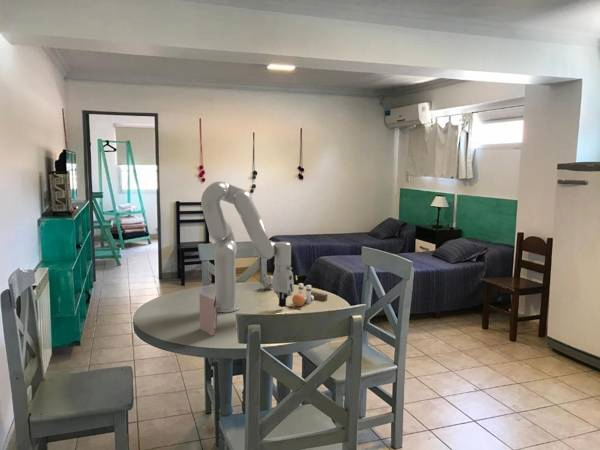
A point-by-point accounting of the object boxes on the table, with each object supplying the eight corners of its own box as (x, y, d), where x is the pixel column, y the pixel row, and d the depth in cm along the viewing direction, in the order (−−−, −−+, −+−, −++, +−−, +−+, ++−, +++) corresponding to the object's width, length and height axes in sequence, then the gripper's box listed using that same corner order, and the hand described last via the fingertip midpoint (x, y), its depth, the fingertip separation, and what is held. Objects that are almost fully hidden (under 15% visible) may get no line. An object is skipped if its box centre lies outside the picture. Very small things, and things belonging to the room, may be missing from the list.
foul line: (300, 310, 227) (300, 309, 227) (278, 304, 236) (278, 304, 236) (301, 309, 227) (301, 309, 227) (279, 304, 236) (279, 303, 236)
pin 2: (308, 304, 237) (309, 286, 236) (304, 303, 239) (305, 285, 238) (311, 303, 239) (312, 285, 238) (308, 302, 240) (308, 284, 239)
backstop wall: (324, 300, 243) (325, 295, 243) (306, 296, 251) (306, 291, 251) (327, 300, 245) (327, 294, 245) (309, 296, 252) (309, 290, 252)
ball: (308, 301, 234) (300, 310, 233) (301, 294, 238) (293, 303, 237) (303, 296, 229) (295, 305, 229) (296, 289, 233) (287, 298, 233)
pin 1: (301, 302, 240) (301, 284, 239) (297, 301, 242) (297, 283, 241) (304, 301, 242) (304, 283, 241) (300, 300, 244) (300, 283, 243)
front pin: (302, 299, 237) (314, 295, 243) (298, 298, 238) (310, 294, 245) (302, 304, 237) (314, 300, 244) (298, 303, 239) (310, 299, 245)
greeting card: (215, 336, 189) (215, 299, 188) (196, 336, 189) (196, 299, 187) (218, 327, 201) (218, 292, 199) (200, 327, 200) (200, 292, 198)
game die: (270, 296, 265) (273, 284, 259) (257, 290, 267) (259, 278, 260) (277, 285, 272) (280, 273, 265) (263, 279, 273) (266, 267, 267)
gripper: (300, 269, 224) (299, 307, 226) (276, 264, 233) (276, 301, 235) (289, 271, 218) (289, 311, 220) (265, 267, 227) (265, 304, 229)
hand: (282, 306), depth 228 cm, fingers closed
